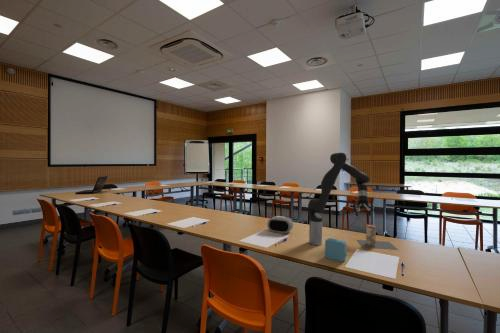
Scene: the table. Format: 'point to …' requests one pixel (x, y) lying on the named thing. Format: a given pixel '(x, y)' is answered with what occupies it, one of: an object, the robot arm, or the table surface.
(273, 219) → the alarm clock
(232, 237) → the table surface
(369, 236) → the maple block
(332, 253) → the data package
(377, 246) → the charcoal mat
